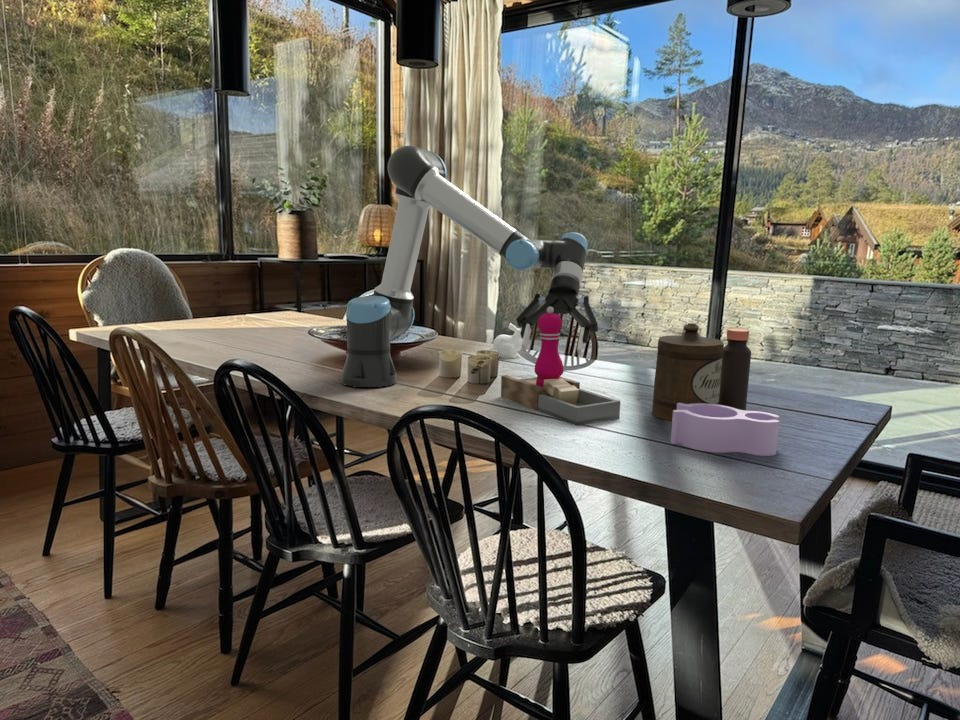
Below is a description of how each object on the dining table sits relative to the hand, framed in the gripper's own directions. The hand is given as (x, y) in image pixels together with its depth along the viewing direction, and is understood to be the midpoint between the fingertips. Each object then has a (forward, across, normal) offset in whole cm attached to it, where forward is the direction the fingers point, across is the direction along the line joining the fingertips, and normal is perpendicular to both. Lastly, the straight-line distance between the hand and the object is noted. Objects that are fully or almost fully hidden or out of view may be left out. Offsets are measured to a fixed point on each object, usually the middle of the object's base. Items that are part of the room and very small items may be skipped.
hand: (551, 350), depth 163 cm
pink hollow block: (+22, -40, +1) cm, 45 cm away
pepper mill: (+4, +1, -10) cm, 11 cm away
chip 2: (+9, -4, -5) cm, 11 cm away
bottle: (+1, -42, -19) cm, 46 cm away
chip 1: (+8, -2, -6) cm, 10 cm away
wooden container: (+7, -32, -13) cm, 35 cm away
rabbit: (-33, +26, -53) cm, 68 cm away
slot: (+6, +4, -14) cm, 15 cm away
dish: (+13, -8, -7) cm, 17 cm away
